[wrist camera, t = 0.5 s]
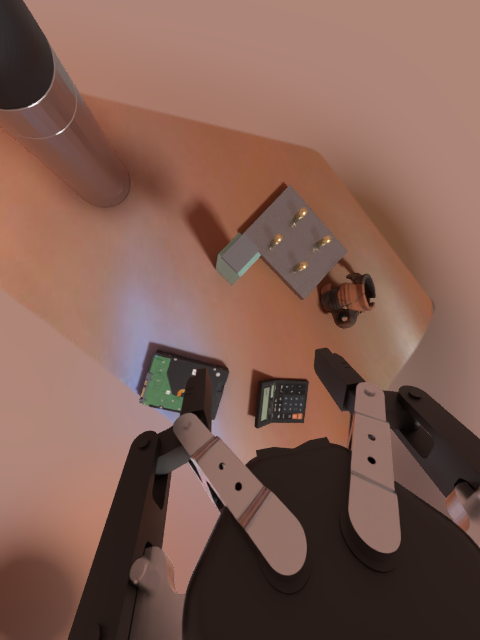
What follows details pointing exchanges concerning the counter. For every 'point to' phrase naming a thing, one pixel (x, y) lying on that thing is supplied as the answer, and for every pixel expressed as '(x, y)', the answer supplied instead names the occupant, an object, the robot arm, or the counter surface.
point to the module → (237, 258)
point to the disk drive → (178, 381)
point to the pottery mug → (349, 299)
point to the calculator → (281, 401)
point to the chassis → (295, 243)
